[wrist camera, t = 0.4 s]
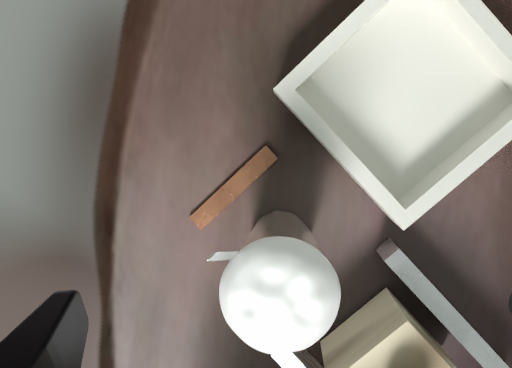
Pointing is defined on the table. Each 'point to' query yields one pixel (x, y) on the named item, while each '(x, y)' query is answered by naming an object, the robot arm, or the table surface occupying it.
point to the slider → (383, 339)
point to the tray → (408, 98)
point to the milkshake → (278, 286)
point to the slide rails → (302, 362)
